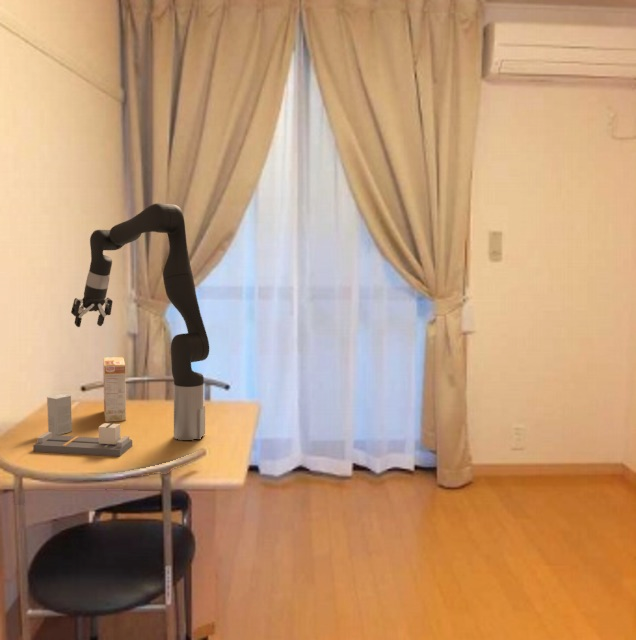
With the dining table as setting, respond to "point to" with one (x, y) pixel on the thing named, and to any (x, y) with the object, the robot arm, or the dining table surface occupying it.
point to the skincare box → (59, 414)
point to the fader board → (80, 445)
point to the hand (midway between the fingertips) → (88, 325)
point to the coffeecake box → (114, 389)
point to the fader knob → (109, 433)
